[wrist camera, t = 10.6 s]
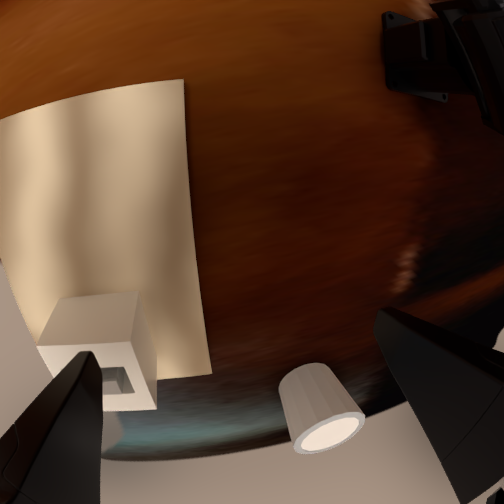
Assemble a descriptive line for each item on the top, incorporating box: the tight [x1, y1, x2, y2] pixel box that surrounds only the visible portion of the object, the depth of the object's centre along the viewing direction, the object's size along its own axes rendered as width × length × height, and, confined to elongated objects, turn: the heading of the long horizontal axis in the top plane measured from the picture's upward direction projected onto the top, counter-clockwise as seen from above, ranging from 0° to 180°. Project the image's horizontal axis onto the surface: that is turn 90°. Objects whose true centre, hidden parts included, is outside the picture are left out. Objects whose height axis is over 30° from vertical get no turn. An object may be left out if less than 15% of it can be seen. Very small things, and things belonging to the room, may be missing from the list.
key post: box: [101, 367, 125, 395], centre depth 17 cm, size 3×1×6 cm, turn 91°
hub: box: [36, 291, 157, 411], centre depth 17 cm, size 6×6×5 cm
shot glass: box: [279, 363, 365, 454], centre depth 25 cm, size 7×7×7 cm
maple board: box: [0, 79, 212, 380], centre depth 18 cm, size 14×21×2 cm, turn 1°
